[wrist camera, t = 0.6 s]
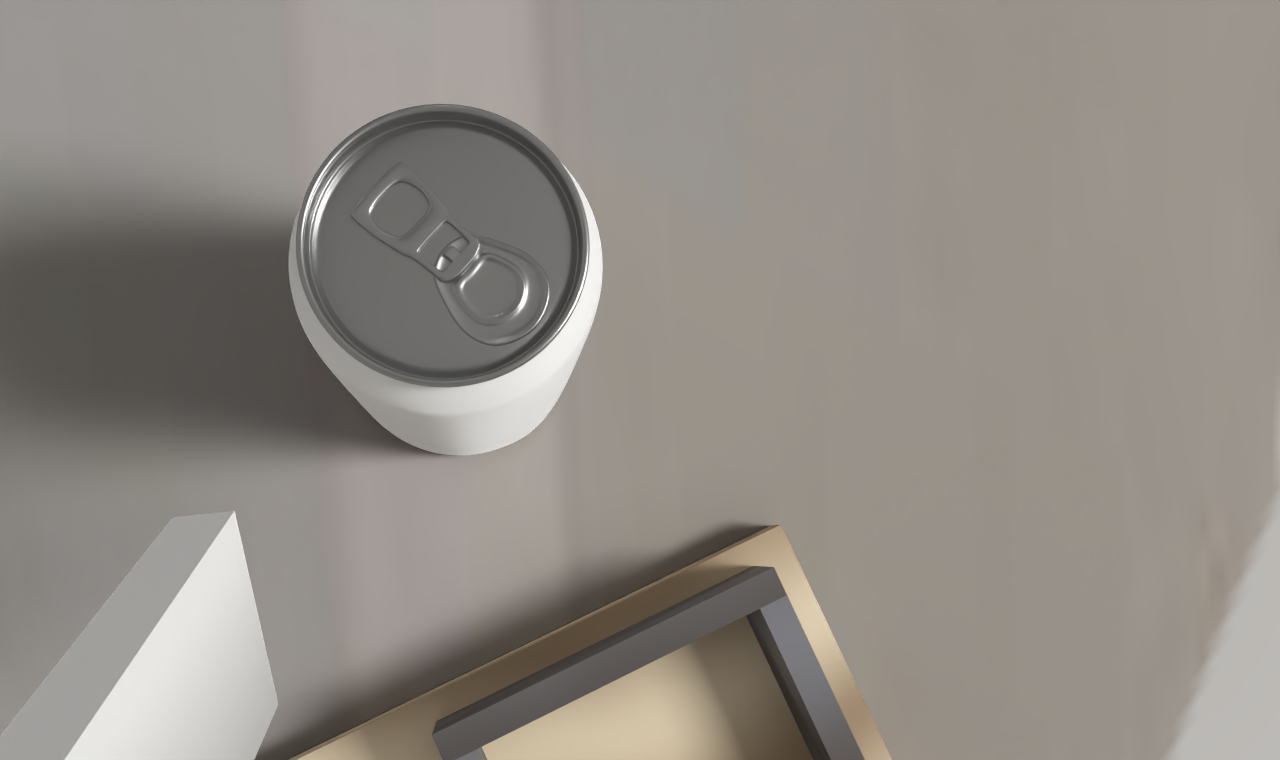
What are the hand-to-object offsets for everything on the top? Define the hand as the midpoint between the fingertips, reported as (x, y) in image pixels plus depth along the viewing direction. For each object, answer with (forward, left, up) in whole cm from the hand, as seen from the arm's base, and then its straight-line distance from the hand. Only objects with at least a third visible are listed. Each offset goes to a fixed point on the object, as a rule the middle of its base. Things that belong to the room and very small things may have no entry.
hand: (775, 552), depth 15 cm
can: (-7, -2, -20) cm, 22 cm away
